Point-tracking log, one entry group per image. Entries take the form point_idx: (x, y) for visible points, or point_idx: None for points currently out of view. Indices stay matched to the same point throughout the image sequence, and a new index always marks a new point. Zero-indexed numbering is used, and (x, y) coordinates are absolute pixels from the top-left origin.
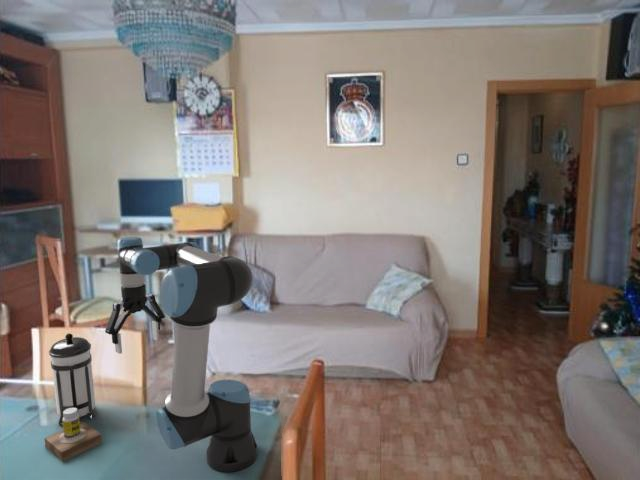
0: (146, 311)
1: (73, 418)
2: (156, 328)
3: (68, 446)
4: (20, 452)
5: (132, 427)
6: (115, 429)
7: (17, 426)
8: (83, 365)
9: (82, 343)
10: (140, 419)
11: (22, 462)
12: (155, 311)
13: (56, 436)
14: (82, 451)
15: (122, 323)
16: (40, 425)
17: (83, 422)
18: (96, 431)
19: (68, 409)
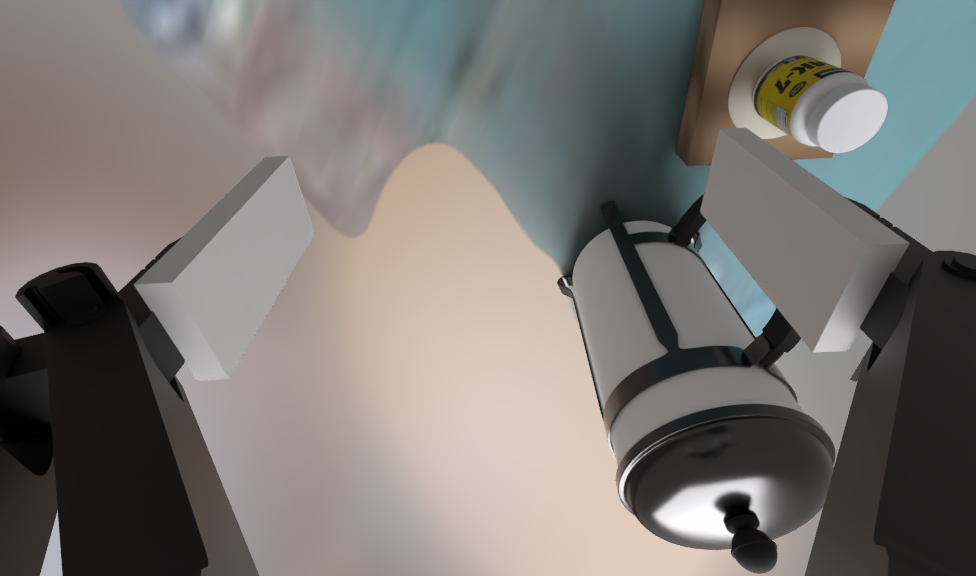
0: (215, 557)
1: (848, 80)
2: (219, 229)
3: (852, 14)
4: (866, 172)
5: (558, 15)
6: (609, 59)
7: (756, 313)
8: (695, 352)
9: (713, 472)
10: (502, 54)
11: (915, 104)
12: (40, 514)
13: None
14: None
15: (950, 389)
16: (723, 277)
17: (690, 157)
18: (713, 43)
19: (843, 141)
